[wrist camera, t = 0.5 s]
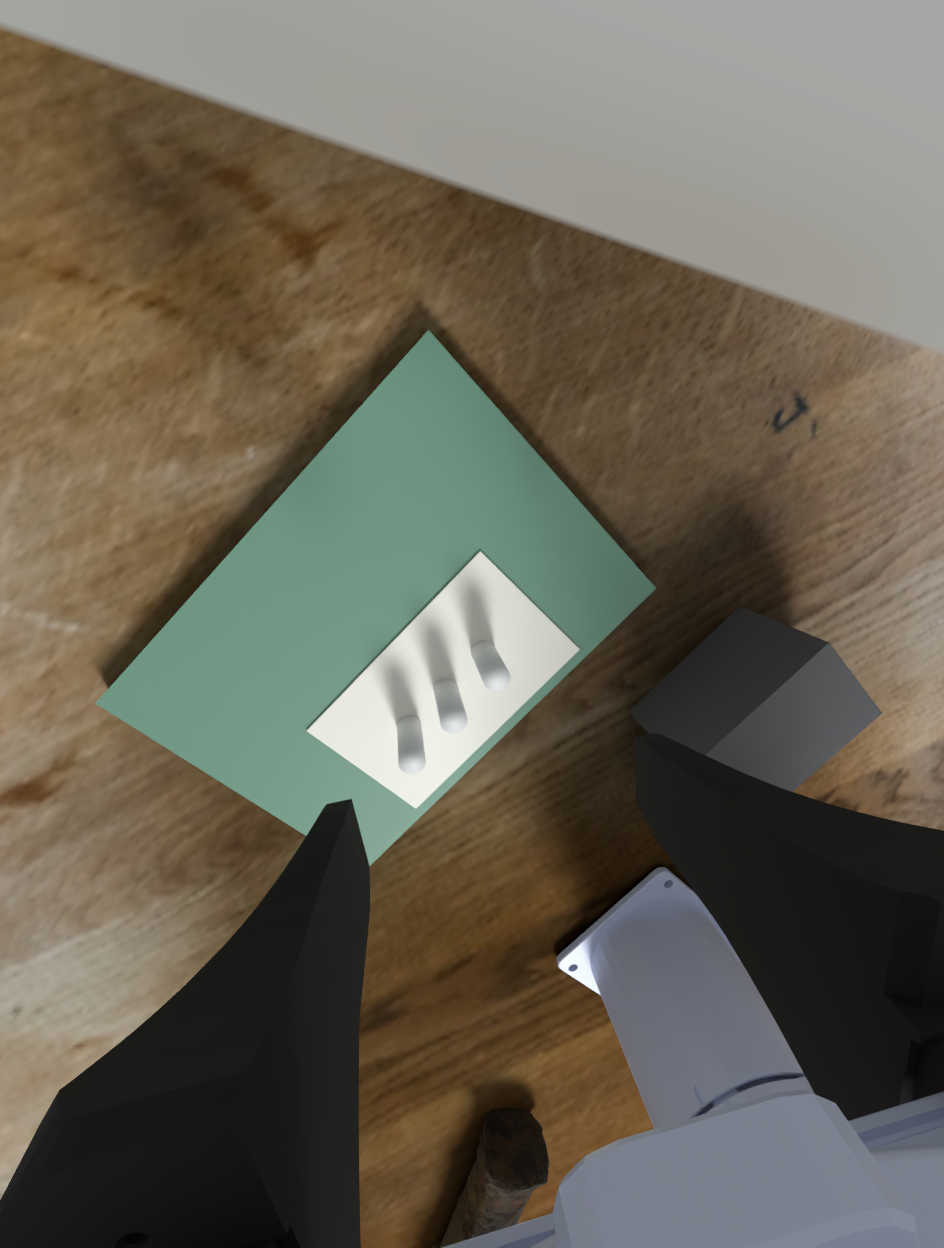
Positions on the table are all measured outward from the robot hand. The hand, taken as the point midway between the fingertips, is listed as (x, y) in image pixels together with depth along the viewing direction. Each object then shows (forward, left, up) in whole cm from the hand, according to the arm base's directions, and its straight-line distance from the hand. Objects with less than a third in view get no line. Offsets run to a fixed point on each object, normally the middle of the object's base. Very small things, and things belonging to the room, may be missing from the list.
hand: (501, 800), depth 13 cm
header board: (+3, +1, -10) cm, 10 cm away
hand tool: (-28, +27, -10) cm, 40 cm away
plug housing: (-10, -7, -10) cm, 16 cm away
